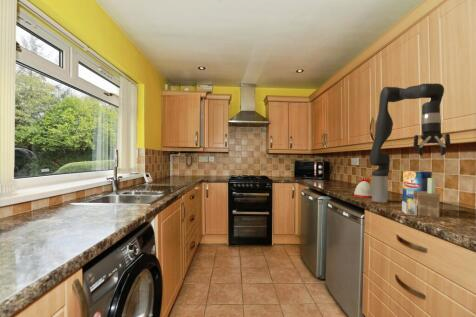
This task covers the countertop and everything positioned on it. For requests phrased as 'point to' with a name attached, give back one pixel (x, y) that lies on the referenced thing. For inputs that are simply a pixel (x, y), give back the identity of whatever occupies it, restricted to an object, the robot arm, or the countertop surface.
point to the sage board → (431, 185)
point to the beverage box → (414, 184)
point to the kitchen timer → (363, 189)
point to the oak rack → (426, 203)
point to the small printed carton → (412, 208)
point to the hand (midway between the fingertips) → (431, 155)
